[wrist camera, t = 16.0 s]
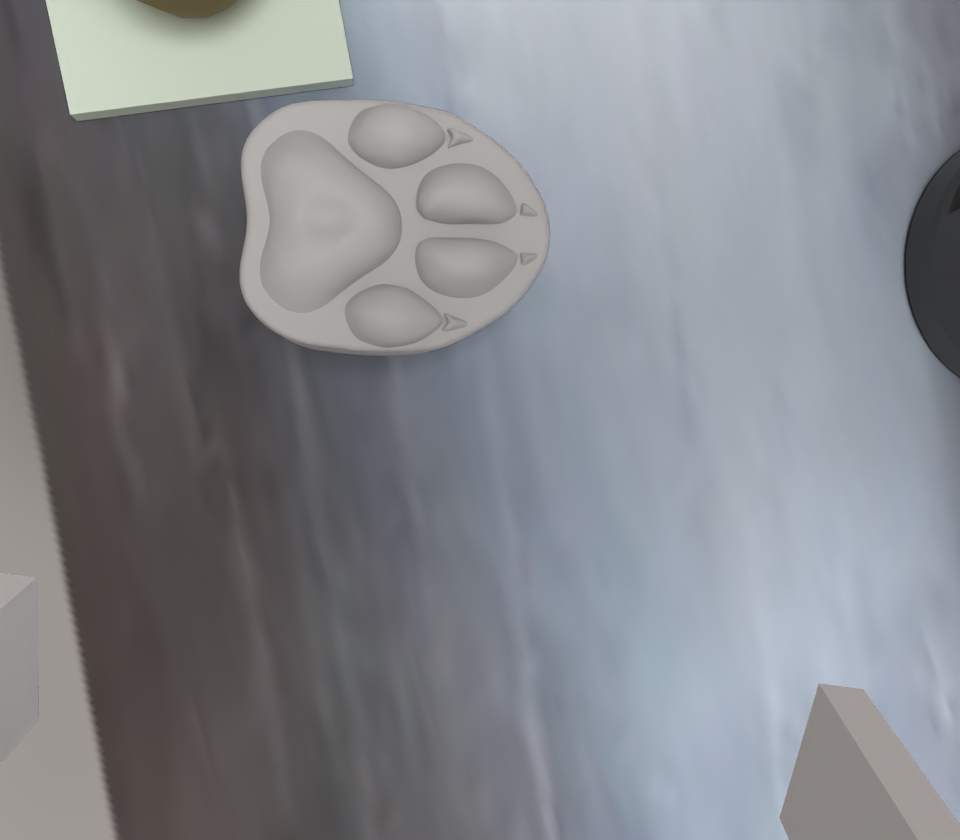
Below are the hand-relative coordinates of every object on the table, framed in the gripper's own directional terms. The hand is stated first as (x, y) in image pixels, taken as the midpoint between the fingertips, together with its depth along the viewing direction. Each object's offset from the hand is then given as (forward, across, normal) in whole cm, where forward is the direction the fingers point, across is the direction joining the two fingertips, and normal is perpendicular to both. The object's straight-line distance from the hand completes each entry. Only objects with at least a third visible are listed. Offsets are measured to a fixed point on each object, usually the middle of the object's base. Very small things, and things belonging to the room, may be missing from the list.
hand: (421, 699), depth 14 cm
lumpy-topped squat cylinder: (+30, -5, +4) cm, 31 cm away
